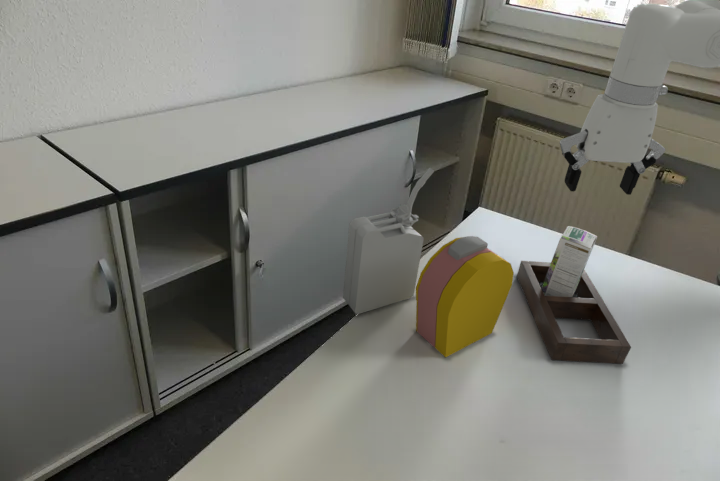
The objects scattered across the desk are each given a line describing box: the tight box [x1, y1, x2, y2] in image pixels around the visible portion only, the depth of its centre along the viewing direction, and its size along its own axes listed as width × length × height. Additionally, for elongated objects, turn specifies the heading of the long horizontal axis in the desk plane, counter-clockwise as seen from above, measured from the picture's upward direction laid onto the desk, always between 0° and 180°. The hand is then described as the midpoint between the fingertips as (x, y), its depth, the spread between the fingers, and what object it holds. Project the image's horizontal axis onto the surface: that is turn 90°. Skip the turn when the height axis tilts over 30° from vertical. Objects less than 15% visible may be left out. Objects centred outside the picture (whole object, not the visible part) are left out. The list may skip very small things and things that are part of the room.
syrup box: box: [541, 225, 598, 297], centre depth 102 cm, size 6×6×14 cm
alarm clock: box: [415, 235, 515, 358], centre depth 90 cm, size 15×8×18 cm, turn 126°
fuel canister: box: [342, 167, 435, 315], centre depth 95 cm, size 15×5×25 cm, turn 120°
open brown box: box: [516, 260, 632, 365], centre depth 100 cm, size 12×24×4 cm, turn 1°
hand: (597, 189), depth 93 cm, fingers open, 9 cm apart
